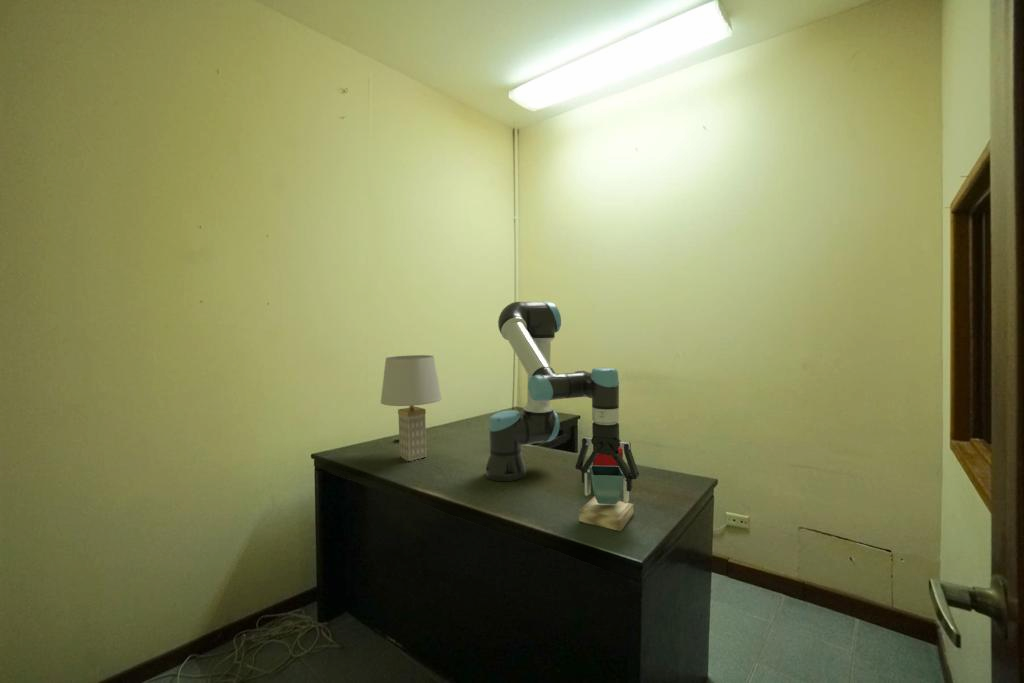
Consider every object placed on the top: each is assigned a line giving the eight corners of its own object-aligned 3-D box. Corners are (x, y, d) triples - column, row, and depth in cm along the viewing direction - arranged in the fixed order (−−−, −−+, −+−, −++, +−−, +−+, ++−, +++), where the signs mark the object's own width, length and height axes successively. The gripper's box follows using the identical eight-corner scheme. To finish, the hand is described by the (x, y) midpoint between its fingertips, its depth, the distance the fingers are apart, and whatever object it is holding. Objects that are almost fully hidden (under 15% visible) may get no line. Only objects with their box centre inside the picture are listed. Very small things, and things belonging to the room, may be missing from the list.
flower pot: (620, 495, 128) (619, 465, 127) (624, 508, 119) (624, 476, 118) (590, 494, 128) (589, 465, 128) (592, 507, 120) (592, 475, 119)
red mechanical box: (623, 488, 145) (622, 430, 144) (592, 487, 147) (592, 429, 146) (621, 473, 160) (620, 420, 160) (593, 471, 162) (592, 419, 162)
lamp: (372, 458, 185) (368, 357, 183) (423, 446, 202) (420, 354, 200) (400, 472, 166) (397, 360, 165) (454, 457, 183) (451, 356, 182)
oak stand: (579, 521, 122) (579, 509, 122) (594, 505, 132) (594, 495, 132) (620, 531, 116) (620, 519, 115) (633, 514, 126) (633, 502, 126)
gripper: (562, 420, 126) (564, 494, 127) (643, 429, 113) (644, 511, 114) (573, 415, 132) (574, 486, 133) (650, 423, 120) (651, 501, 121)
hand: (606, 497), depth 124 cm, fingers closed on flower pot, 11 cm apart
